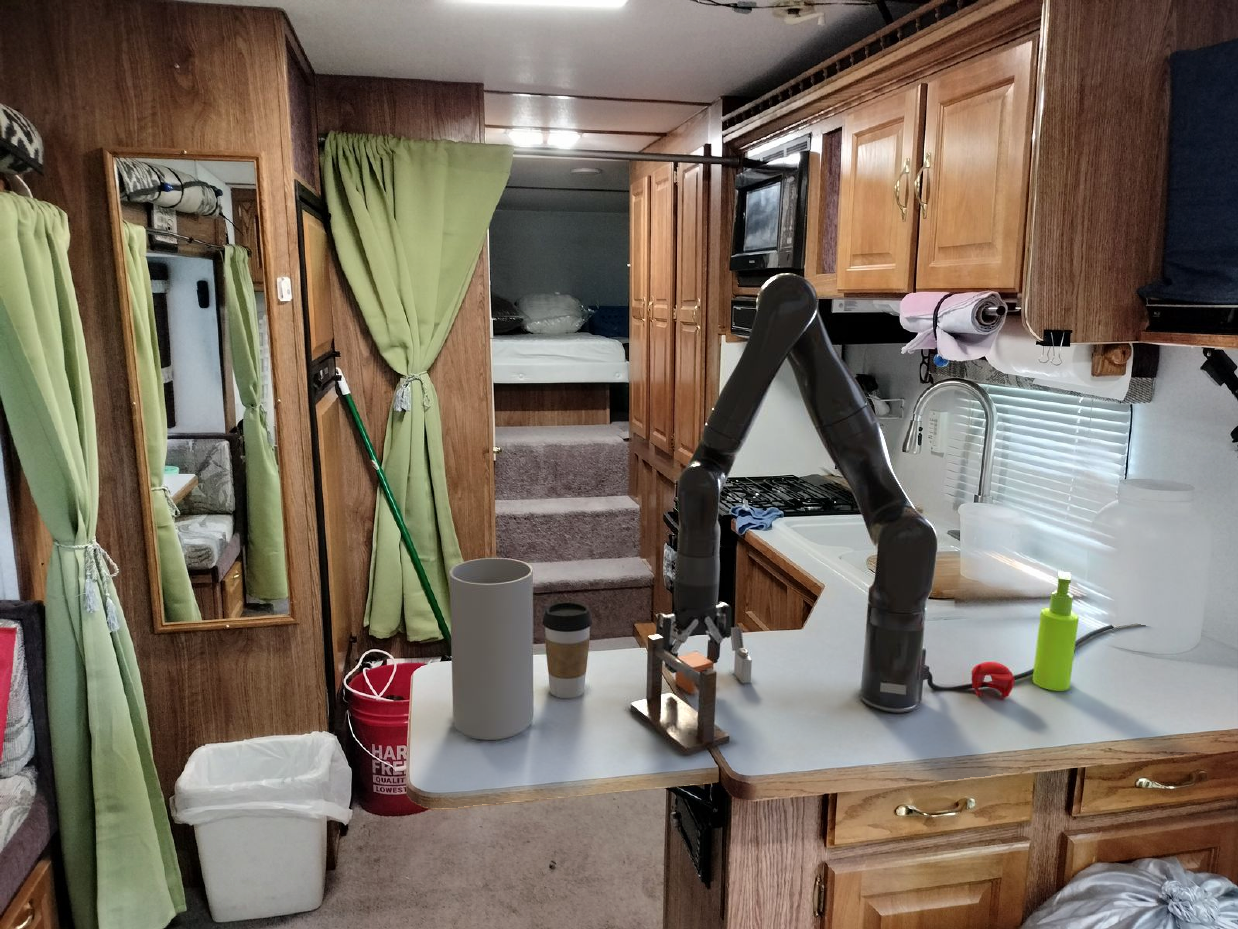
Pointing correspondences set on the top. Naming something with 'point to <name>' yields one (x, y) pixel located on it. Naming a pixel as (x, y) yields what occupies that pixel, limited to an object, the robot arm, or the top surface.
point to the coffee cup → (567, 647)
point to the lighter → (740, 656)
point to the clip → (694, 662)
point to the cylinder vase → (492, 647)
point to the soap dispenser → (1056, 639)
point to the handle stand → (679, 704)
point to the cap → (993, 677)
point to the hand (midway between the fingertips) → (692, 666)
